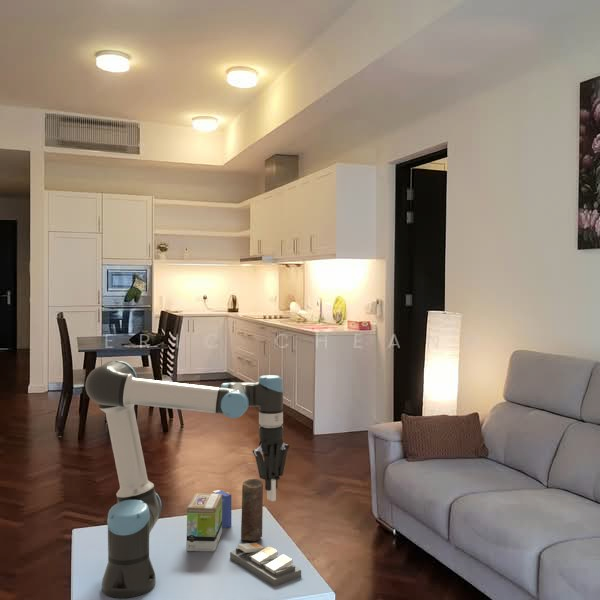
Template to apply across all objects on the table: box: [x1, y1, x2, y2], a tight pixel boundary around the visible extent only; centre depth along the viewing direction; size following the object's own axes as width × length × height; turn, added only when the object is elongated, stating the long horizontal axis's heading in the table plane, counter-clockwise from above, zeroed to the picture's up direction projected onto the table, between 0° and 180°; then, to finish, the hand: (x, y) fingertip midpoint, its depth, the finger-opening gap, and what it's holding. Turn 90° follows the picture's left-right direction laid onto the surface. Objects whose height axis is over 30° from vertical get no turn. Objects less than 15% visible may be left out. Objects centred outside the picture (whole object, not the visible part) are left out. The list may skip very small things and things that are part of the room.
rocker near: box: [265, 553, 294, 574], centre depth 191 cm, size 7×5×1 cm, turn 129°
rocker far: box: [237, 542, 265, 553], centre depth 203 cm, size 7×5×1 cm, turn 129°
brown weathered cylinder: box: [240, 478, 264, 542], centre depth 218 cm, size 8×7×20 cm
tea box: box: [185, 492, 223, 552], centre depth 216 cm, size 15×10×15 cm
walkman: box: [211, 489, 233, 529], centre depth 232 cm, size 8×3×12 cm, turn 46°
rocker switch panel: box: [229, 547, 302, 587], centre depth 197 cm, size 10×24×3 cm, turn 39°
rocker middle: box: [251, 546, 279, 565], centre depth 197 cm, size 7×5×1 cm, turn 129°
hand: (271, 499), depth 198 cm, fingers closed
